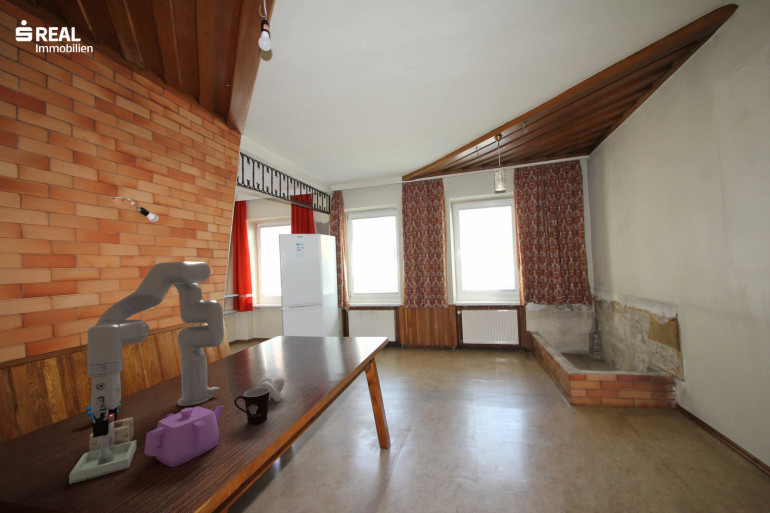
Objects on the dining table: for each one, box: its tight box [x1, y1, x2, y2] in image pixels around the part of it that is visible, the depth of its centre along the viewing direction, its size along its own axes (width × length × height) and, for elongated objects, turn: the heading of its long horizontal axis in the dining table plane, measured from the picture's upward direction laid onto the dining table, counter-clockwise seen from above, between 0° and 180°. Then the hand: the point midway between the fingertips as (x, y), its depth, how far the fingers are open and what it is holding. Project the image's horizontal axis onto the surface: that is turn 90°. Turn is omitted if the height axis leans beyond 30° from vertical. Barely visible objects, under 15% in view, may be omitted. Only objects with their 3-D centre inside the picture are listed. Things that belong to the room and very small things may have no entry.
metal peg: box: [97, 413, 114, 465], centre depth 90 cm, size 4×4×13 cm
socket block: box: [88, 416, 134, 452], centre depth 100 cm, size 9×9×6 cm
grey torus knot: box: [254, 376, 286, 403], centre depth 130 cm, size 11×12×9 cm
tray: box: [68, 439, 137, 485], centre depth 89 cm, size 12×12×2 cm
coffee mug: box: [234, 387, 270, 426], centre depth 113 cm, size 12×9×10 cm
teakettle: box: [143, 405, 225, 468], centre depth 95 cm, size 17×17×12 cm
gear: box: [86, 402, 122, 421], centre depth 120 cm, size 11×6×10 cm
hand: (105, 428), depth 90 cm, fingers open, 9 cm apart
